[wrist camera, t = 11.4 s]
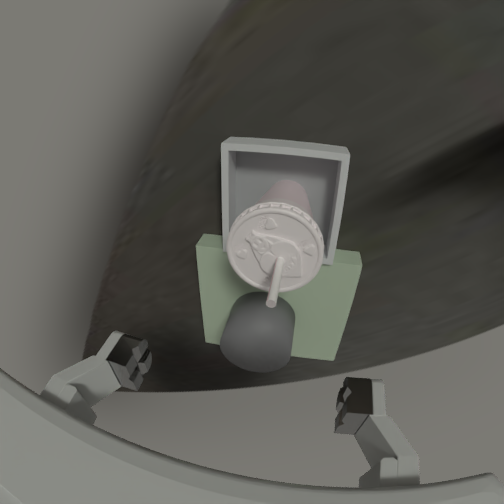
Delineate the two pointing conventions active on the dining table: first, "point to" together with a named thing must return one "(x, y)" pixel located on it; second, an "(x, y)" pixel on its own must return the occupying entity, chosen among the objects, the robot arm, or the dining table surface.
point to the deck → (288, 303)
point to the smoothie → (277, 242)
